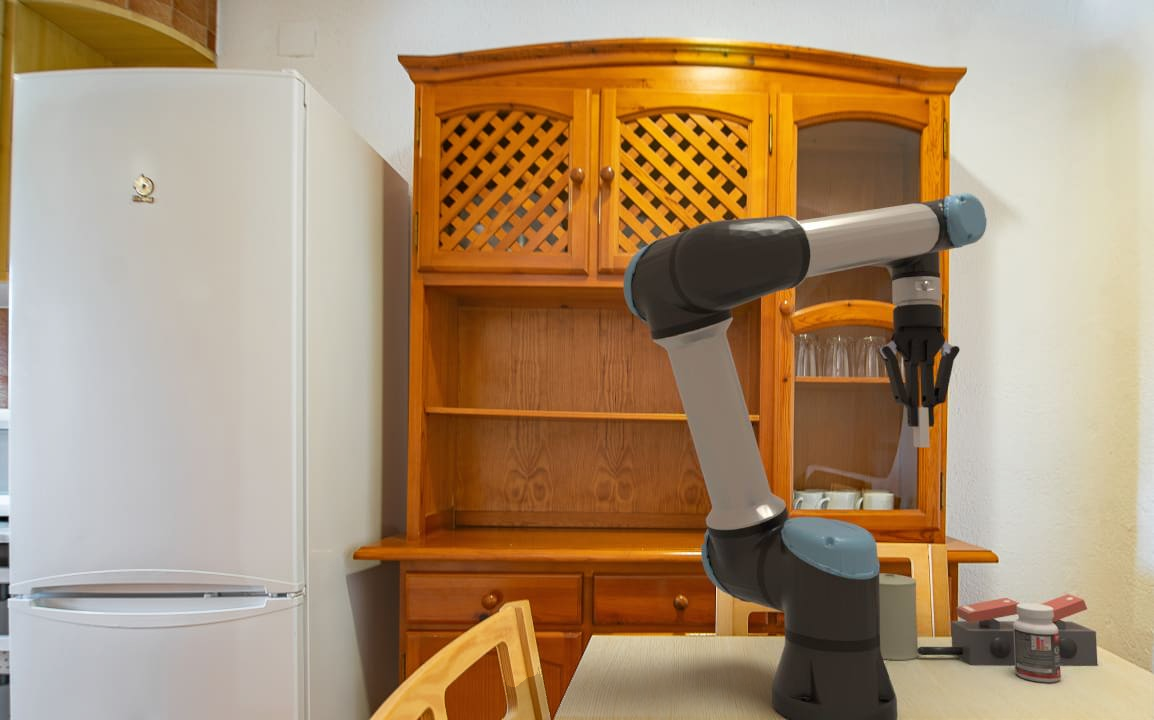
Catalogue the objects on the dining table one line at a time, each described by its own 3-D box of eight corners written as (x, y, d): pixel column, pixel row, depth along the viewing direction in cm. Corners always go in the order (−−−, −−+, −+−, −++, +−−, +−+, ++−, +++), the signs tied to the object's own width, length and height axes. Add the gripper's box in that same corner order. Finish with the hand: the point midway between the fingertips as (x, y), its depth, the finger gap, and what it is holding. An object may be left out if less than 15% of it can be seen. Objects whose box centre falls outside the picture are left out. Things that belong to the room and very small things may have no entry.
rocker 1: (970, 623, 121) (968, 612, 121) (958, 616, 125) (956, 606, 125) (1022, 613, 121) (1019, 602, 121) (1008, 607, 125) (1005, 597, 125)
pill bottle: (1067, 685, 110) (1064, 612, 111) (1023, 682, 111) (1020, 610, 112) (1051, 672, 116) (1048, 603, 117) (1009, 669, 117) (1006, 601, 118)
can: (923, 649, 127) (921, 573, 128) (913, 664, 120) (910, 583, 121) (864, 641, 132) (862, 568, 133) (850, 654, 125) (848, 576, 126)
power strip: (926, 664, 119) (925, 623, 120) (910, 653, 125) (909, 613, 126) (1098, 665, 119) (1095, 624, 120) (1073, 653, 125) (1071, 614, 126)
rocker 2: (1038, 627, 121) (1034, 617, 121) (1024, 620, 125) (1020, 611, 125) (1087, 609, 121) (1083, 599, 121) (1071, 603, 125) (1067, 593, 125)
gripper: (886, 302, 129) (890, 447, 127) (966, 302, 129) (972, 447, 127) (869, 308, 137) (873, 446, 135) (945, 308, 136) (950, 446, 135)
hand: (921, 446), depth 131 cm, fingers closed
